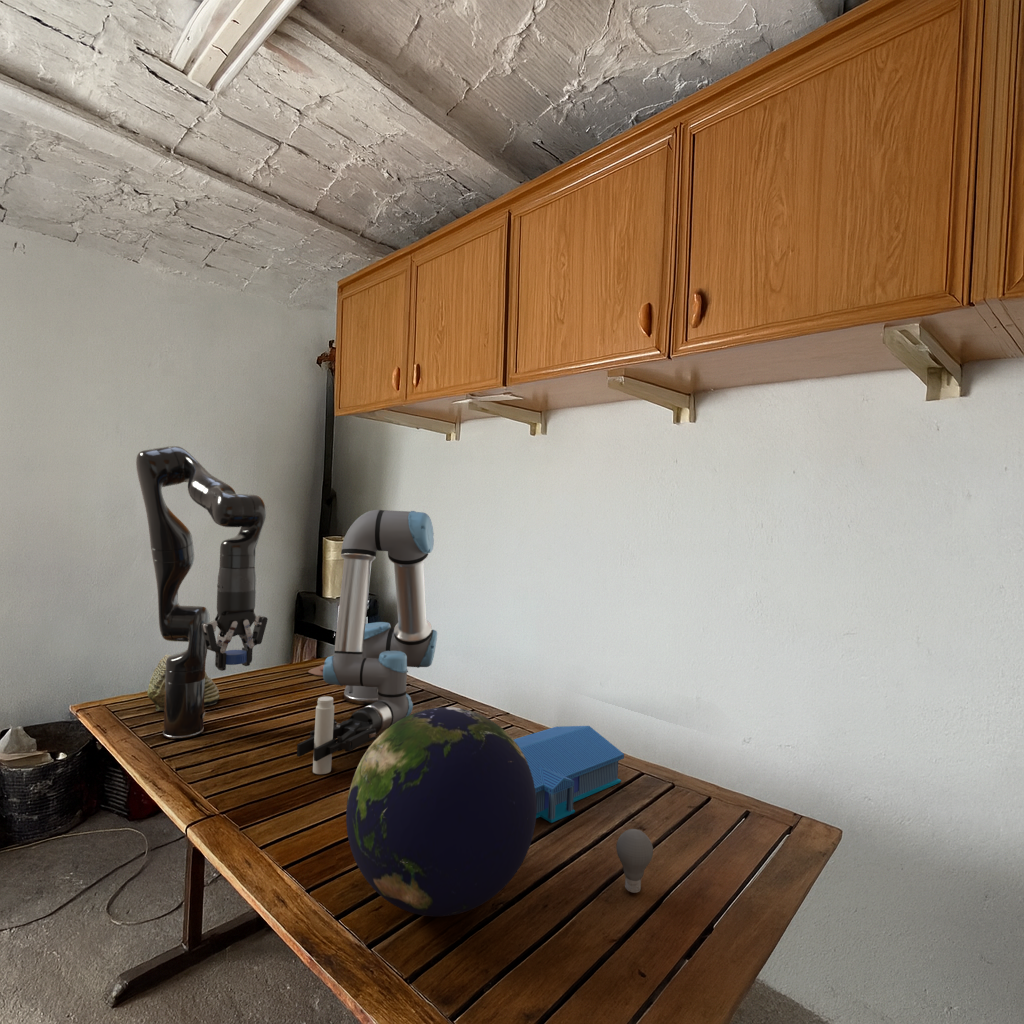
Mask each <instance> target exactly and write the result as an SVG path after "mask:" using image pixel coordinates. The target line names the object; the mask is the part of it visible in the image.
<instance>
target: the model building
mask: <svg viewBox="0 0 1024 1024" xmlns="http://www.w3.org/2000/svg"><path fill="white" fill-rule="evenodd" d="M513 740H514V741H515V742H516V744H517V745H518V746H519V748H520V749H521V751H522V753H523V755H524V756H525V758H526V760H527V763H528V766H529V768H530V771H531V774H532V777H533V781H534V786H535V792H536V805H537V810H536V819H539V818H541V819H543V820H545V821H548V823H551V824H553V823H556V822H557V821H559V820H562V819H564V818H567V817H569V816H570V815H573V814H575V813H576V810H575V809H574V803H576V802H578V801H580V800H583V799H585V798H587V797H589V796H592V795H594V794H597V793H599V792H601V791H604V790H607V789H609V788H611V787H613V786H615V785H617V784H620V783H622V779H620V778H618V777H619V761H621V760H623V759H625V753H623V751H621V750H620V749H619V748H617V747H616V746H615V745H613V743H611V741H609V740H607V738H605V737H604V736H602V735H601V734H600V733H599V732H597V731H596V730H595V729H594V728H593V727H592V726H590V725H566V726H565V725H564V726H563V725H561V726H560V725H559V726H553V727H550V728H548V729H544V730H540V731H537V732H534V733H531V734H527V735H523V736H520V737H517V738H513Z"/></svg>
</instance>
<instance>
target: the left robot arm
mask: <svg viewBox="0 0 1024 1024" xmlns="http://www.w3.org/2000/svg"><path fill="white" fill-rule="evenodd" d="M135 466H136V473H137V478H138V482H139V486H140V491H141V495H142V500H143V504H144V508H145V512H146V519H147V526H148V527H147V528H148V534H149V535H148V536H149V543H150V550H151V551H150V552H151V557H152V558H151V559H152V564H153V568H154V575H155V580H156V590H157V604H158V605H157V609H158V610H157V611H158V626H159V632H160V635H161V637H162V638H163V640H165V641H167V642H178V643H179V642H182V643H183V642H184V643H188V645H187V649H186V650H184V651H181V652H178V653H177V652H176V653H174V654H170V655H171V656H170V657H168V658H167V660H166V674H165V705H164V710H163V731H162V737H164V738H166V739H169V740H185V739H190V738H191V739H192V738H194V737H197V736H199V735H202V734H203V732H204V730H205V729H204V722H205V721H204V718H205V716H206V711H205V706H204V693H205V672H206V664H207V663H206V660H207V655H208V651H211V652H214V653H215V655H214V657H215V658H214V659H215V661H214V666H215V668H217V669H218V671H221V672H222V671H223V672H224V671H226V670H227V665H226V653H225V651H227V649H228V646H229V644H230V643H231V641H232V639H233V637H236V636H239V638H240V640H241V643H242V646H243V647H241V650H244V651H246V652H247V661H246V662H245V663H242V664H241V665H242V666H244V667H249V666H250V665H251V663H252V662H253V650H254V647H255V646H257V645H261V644H262V642H263V639H264V635H265V631H266V626H267V623H268V621H269V620H268V617H266V616H263V615H256V612H255V608H256V595H257V589H256V588H257V571H256V563H257V562H256V559H257V546H258V544H259V540H260V537H261V534H262V530H263V527H264V524H265V522H266V518H267V507H266V503H265V501H264V500H263V499H262V498H261V497H260V496H258V495H256V494H244V493H241V494H240V493H236V491H235V489H234V488H233V487H232V486H230V484H228V483H226V482H224V481H223V480H221V479H219V478H218V477H216V476H214V475H212V474H211V473H210V472H209V471H208V470H207V469H206V468H205V467H204V466H203V465H202V464H201V463H200V462H199V461H198V460H197V459H196V458H195V457H194V456H193V455H192V454H191V453H190V452H189V451H188V450H186V449H185V448H183V447H182V446H179V445H170V446H162V447H156V448H155V447H154V448H149V449H145V450H140V451H139V452H138V453H137V455H136V459H135ZM182 483H187V492H188V495H189V497H190V498H191V500H192V501H193V502H194V503H195V504H197V505H199V507H201V508H203V509H204V510H206V511H207V513H208V514H209V516H210V517H211V519H212V520H213V522H214V523H215V524H216V525H218V526H221V527H223V528H239V531H238V533H237V535H236V536H234V537H230V538H226V539H224V540H222V542H221V543H220V548H219V569H218V574H217V584H216V589H217V590H216V616H215V618H214V620H212V621H210V613H209V610H208V608H207V607H205V606H202V605H180V603H179V595H178V594H179V590H180V587H181V585H182V583H183V582H184V580H185V579H186V577H187V575H188V574H189V572H190V570H191V569H192V567H193V564H194V562H195V549H194V541H193V535H192V533H191V531H190V530H189V528H188V527H187V525H185V523H184V522H183V521H182V520H181V519H179V518H178V517H177V516H176V515H175V514H174V513H173V511H171V509H170V507H168V505H167V504H166V501H165V499H164V495H163V489H162V488H165V487H170V486H176V485H180V484H182ZM252 626H253V629H252V630H251V627H252ZM217 628H218V629H219V631H218V634H217V637H216V635H215V632H216V631H217Z"/></svg>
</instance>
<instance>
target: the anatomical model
mask: <svg viewBox="0 0 1024 1024" xmlns="http://www.w3.org/2000/svg"><path fill="white" fill-rule="evenodd" d="M323 667H324V664H321V665H319V666H316V667H313V668H310V669H309V670H308V674H311V675H313V676H314V675H315V676H321V677H323Z"/></svg>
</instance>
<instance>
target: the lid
mask: <svg viewBox="0 0 1024 1024" xmlns="http://www.w3.org/2000/svg"><path fill="white" fill-rule="evenodd" d="M225 653H226V666H236V665H242V663H245V662H246V661H247V652H246V651H244V650H242V649H229V650H226V651H225Z"/></svg>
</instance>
